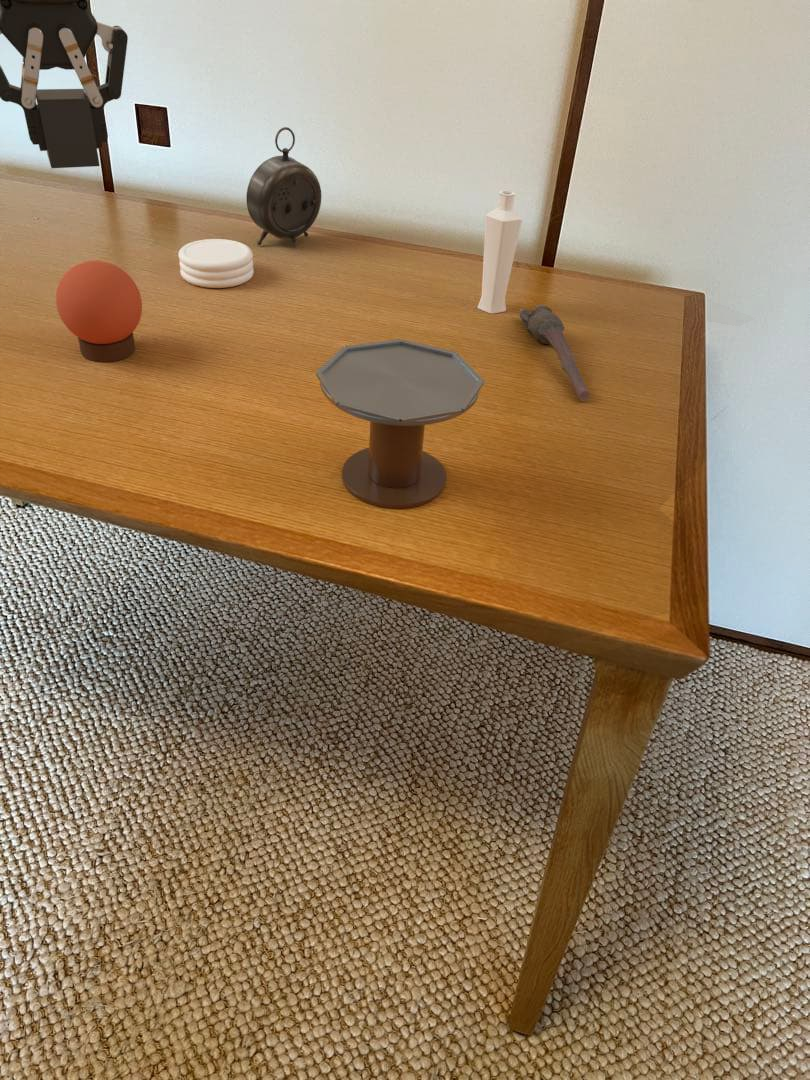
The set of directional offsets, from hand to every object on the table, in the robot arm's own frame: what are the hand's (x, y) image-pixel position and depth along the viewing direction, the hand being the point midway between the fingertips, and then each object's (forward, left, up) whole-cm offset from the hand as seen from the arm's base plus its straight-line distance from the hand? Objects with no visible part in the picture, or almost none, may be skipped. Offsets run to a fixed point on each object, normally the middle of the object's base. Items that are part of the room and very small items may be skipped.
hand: (70, 146), depth 80 cm
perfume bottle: (+50, -1, -22) cm, 55 cm away
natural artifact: (+50, -16, -22) cm, 57 cm away
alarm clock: (+30, +29, -22) cm, 47 cm away
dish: (+22, -34, -22) cm, 46 cm away
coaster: (+17, +19, -22) cm, 34 cm away
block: (0, 0, -1) cm, 1 cm away
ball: (0, 0, -22) cm, 22 cm away
